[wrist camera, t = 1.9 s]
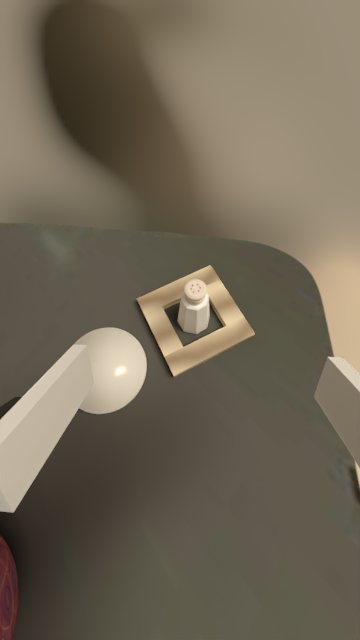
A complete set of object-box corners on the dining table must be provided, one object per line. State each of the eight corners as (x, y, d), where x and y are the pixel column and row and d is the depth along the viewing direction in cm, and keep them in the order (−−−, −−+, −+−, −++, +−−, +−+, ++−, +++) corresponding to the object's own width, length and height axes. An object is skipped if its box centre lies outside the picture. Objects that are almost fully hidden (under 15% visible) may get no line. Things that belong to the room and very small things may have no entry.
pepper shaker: (206, 302, 38) (213, 265, 28) (212, 332, 36) (222, 305, 26) (175, 306, 38) (170, 272, 28) (179, 337, 36) (176, 312, 26)
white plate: (54, 350, 36) (51, 349, 35) (128, 316, 38) (127, 314, 37) (79, 430, 32) (76, 431, 31) (160, 387, 34) (160, 387, 33)
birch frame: (138, 302, 38) (136, 298, 37) (209, 270, 40) (210, 264, 39) (174, 377, 34) (173, 376, 33) (252, 336, 36) (255, 334, 34)
